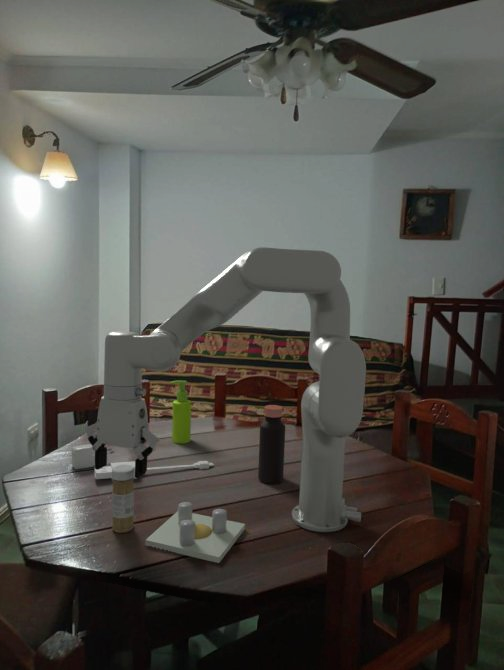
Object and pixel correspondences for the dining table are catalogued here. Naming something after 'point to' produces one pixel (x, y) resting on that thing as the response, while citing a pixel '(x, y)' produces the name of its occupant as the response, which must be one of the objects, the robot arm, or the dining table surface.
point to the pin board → (197, 534)
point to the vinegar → (271, 446)
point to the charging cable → (107, 471)
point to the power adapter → (84, 456)
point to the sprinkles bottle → (122, 498)
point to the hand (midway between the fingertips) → (120, 471)
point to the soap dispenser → (181, 415)
